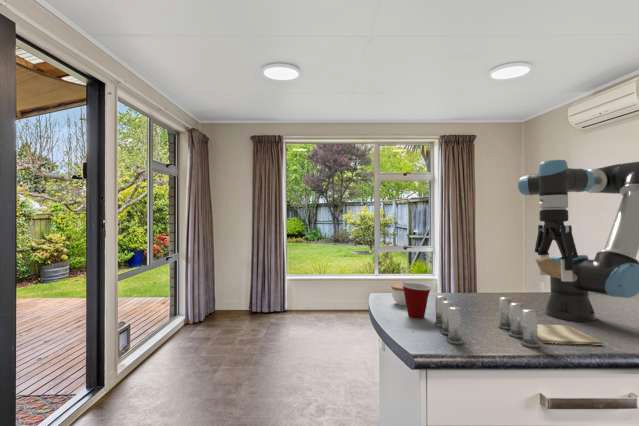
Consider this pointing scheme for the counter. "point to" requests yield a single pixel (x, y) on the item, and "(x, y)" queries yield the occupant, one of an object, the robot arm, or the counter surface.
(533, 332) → the posts
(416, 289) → the plastic cup
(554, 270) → the pottery oil lamp
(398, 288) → the lidded jar
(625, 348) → the counter surface
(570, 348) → the counter surface
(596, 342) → the ash board
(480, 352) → the counter surface
